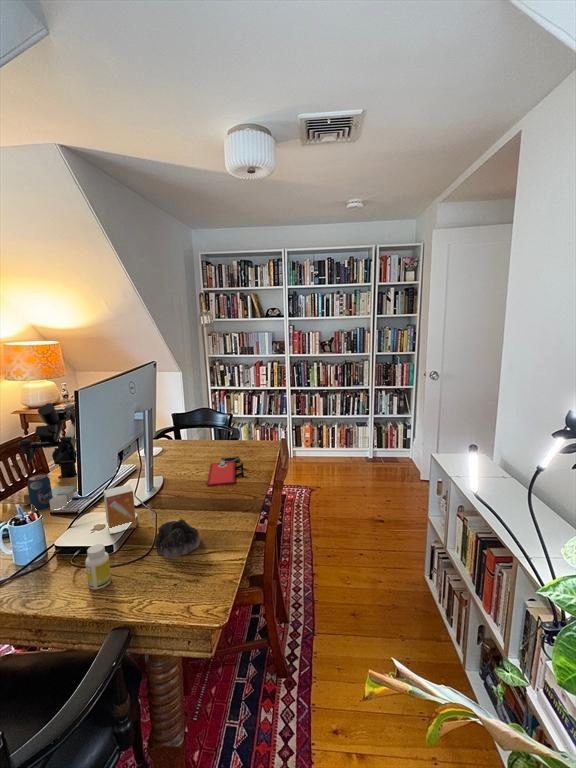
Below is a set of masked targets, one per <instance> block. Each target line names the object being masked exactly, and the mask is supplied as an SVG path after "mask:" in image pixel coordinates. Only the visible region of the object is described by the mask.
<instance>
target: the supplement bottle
mask: <svg viewBox="0 0 576 768" xmlns="http://www.w3.org/2000/svg"><path fill="white" fill-rule="evenodd" d="M86 553H87V554H86V555H87V557H86V559H85V562H84V564H85V571H86V577H87V578H86V579H87V585H88V588H89V589H91V590H101V589H103V588H105V587H107V586H108V585H109V584H110V583H111V582H112V581H111V580H112V572H111V571H112V569H111V563H110V557H109V556H110V555H109V553H108V552H107V551H106V548H105V544H102V543H95V544H94V545H92V546H89V547H88V549H87V550H86Z"/></svg>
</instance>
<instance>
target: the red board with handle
mask: <svg viewBox="0 0 576 768" xmlns="http://www.w3.org/2000/svg"><path fill="white" fill-rule="evenodd" d="M237 462H240V456H227V457H221V460H220V462H217V463H210V465H209V472H208V477H207V481H206V482H207V483H206V486H207V487H214V486H225V485H235V484H236V478H238V477H240V476H241V478H244V476H245V475H244V463H243V462H241V463H240V465H236V463H237ZM238 469H241V471H240V472H238V473H236V470H238Z"/></svg>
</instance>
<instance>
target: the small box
mask: <svg viewBox="0 0 576 768" xmlns="http://www.w3.org/2000/svg"><path fill="white" fill-rule="evenodd" d="M134 497H135V495H134V490H133V489H132V486H131V485H130V484H126V485H121V486H120V485H119V486H116V487H113V488H108V489H105V490H103V499H104V508H105V517H106V524H107V523H108V526H109V528H112V527H115V526H118V525H122V524H125V523H129V522H132V523H133V525H134V528H133V529H135V528H137V521H136V509H135V499H134Z"/></svg>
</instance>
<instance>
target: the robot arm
mask: <svg viewBox="0 0 576 768" xmlns="http://www.w3.org/2000/svg"><path fill="white" fill-rule="evenodd" d="M74 403H75V402H70V403H68V404H67V405H64V406H62V407H55V406H54V405H53V403H52V402H47V403H45V405H42V406H41V407H39V408H38V410H37V413H38V415H39V417H40V419H41V421H42V423H43V424H46V425H37V426H36V427H35V430H34V431H35V432H34V435H35V436H37V440H38V441H39V442H34V441H33V439H24V440H22V439H21V440H20V441H18V445H17V446H18V448H19V449H20V451H21V452H22V454H24V455H25V456H26V464H27V465H30V464H31V462H32V460H33V459H34V457H35V454H36V450H37V449H40V448H41V449H42V448H43V449H50V448H51V449H52V448H53V449H54V450H53V451H52V453H51V455H52V459H53V463H54V465H55V466H58V465H59V466H60V467H59V468H60V475H58V477H57V478H58V479H67V478H68V479H69V478H75V476H76V471H77V469H76V464H77V462H76V451H77V450H76V443H77V441H76V439H75V417H74ZM69 420H70V426H69V428H68V430H67V433H66V434H65V436H63V437H61V435H60V434H61V432H62V431H63V430H65V428H64V427H65V426H64V422H65V421H66V422H67V421H69ZM63 421H64V422H63ZM58 440H59V441H58Z"/></svg>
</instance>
